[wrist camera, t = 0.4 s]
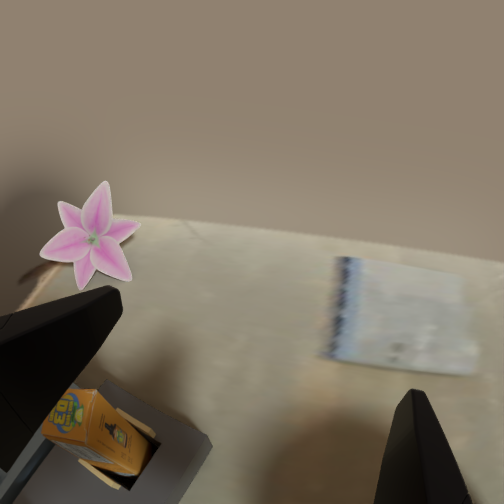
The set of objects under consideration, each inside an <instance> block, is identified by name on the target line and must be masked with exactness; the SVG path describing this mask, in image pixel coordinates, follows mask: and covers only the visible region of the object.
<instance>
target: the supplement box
mask: <svg viewBox="0 0 504 504" xmlns="http://www.w3.org/2000/svg"><path fill="white" fill-rule="evenodd" d="M41 434H42V435H43V436H44V437H46V438H47V439H49V440H50V441H52V442H53V443H55V444H56V445H58V446H60V447H61V448H63V449H65V450H66V451H68V452H70V453H71V454H73V455H75V456H76V457H78V458H80V459H82V460H83V461H85V462H87V463H89V464H91V465H93V466H95V467H97V468H99V469H101V470H103V471H105V472H107V473H109V474H111V475H113V476H117V477H123V478H129V479H136V480H137V479H138V478H139V476H140V475H141V474H142V472H143V471H144V469H145V468H146V466H147V465H148V463H149V462H150V460H151V455H152V444H151V443H150V442H149V441H147V440H146V439H145V438H144V437H143V436H142V435H141V434H140V433H139V432H138V431H137V430H135V429H134V428H133V427H132V426H131V425H130V424H129V423H128V422H127V421H126V420H125V419H124V418H123V417H122V416H121V415H120V414H119V413H118V412H117V411H116V410H115V409H114V408H113V407H112V406H111V405H110V404H109V403H108V402H107V401H106V400H105V399H104V397H103V396H102V395H101V394H100V393H99V392H98V391H97V390H96V389H68V390H67V391H66V392H65V394H64V395H63V396H62V398H61V399H60V400H59V402H58V403H57V404H56V406H55V407H54V408H53V410H52V411H51V412H50V414H49V415H48V416H47V418H46V419H45V420H44V422H43V426H42V430H41Z"/></svg>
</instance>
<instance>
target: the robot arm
mask: <svg viewBox="0 0 504 504" xmlns="http://www.w3.org/2000/svg"><path fill="white" fill-rule="evenodd" d="M122 312H123V306H122V301H121V295H120V291H119V290H118V289H117V288H114V287H112V286H110V285H107V286H103V287H100V288H96V289H93V290H89V291H86V292H82V293H79V294H75V295H72V296H69V297H65V298H62V299H58V300H55V301H52V302H48V303H45V304H41V305H38V306H35V307H31V308H28V309H24V310H21V311H18V312H14V313H11V314H8V315H4V316H1V317H0V468H1V469H2V470H3V471H4V472H6V473H8V471H9V470H10V469H11V467H12V466H13V464H14V463H15V462H16V460H17V459H18V457H19V456H20V454H21V453H22V451H23V450H24V449H25V447H26V446H27V444H28V443H29V441H30V440H31V439H32V437H33V436H34V434H35V433H36V431H37V430H38V429H39V427H40V426H41V424H42V423H43V422H44V420H45V419H46V418H47V416H48V415H49V414H50V412H51V411H52V410H53V408H54V407H55V406H56V404H57V403H58V402H59V400H60V399H61V398H62V396H63V395H64V394H65V392H66V391H67V390H68V388H69V387H70V386H71V384H72V383H73V382H74V381H75V379H76V378H77V377H78V375H79V374H80V373H81V372H82V370H83V369H84V368H85V367H86V365H87V364H88V363H89V362H90V360H91V359H92V358H93V357H94V355H95V354H96V353H97V351H98V350H99V349H100V347H101V346H102V344H103V343H104V341H105V340H106V338H107V337H108V335H109V333H110V332H111V330H112V329H113V327H114V326H115V324H116V323H117V321H118V320H119V318H120V317H121V315H122ZM374 504H473V503H472V500H471V498H470V495H469V494H468V490H467V487H466V485H465V482H464V479H463V477H462V474H461V472H460V469H459V467H458V464H457V462H456V460H455V457H454V455H453V453H452V450H451V448H450V446H449V443H448V441H447V439H446V436H445V434H444V432H443V430H442V428H441V425H440V423H439V421H438V419H437V417H436V415H435V412H434V410H433V408H432V406H431V404H430V402H429V400H428V398H427V396H426V394H425V392H424V391H422V390H417V389H410V390H409V391H408V392H407V393H406V395H405V396H404V397H403V399H402V400H401V401H400V403H399V404H398V406H397V407H396V410H395V413H394V417H393V422H392V426H391V430H390V434H389V437H388V441H387V445H386V448H385V452H384V456H383V460H382V465H381V470H380V475H379V480H378V485H377V490H376V495H375V499H374Z"/></svg>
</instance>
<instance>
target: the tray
mask: <svg viewBox="0 0 504 504" xmlns="http://www.w3.org/2000/svg"><path fill="white" fill-rule="evenodd" d="M68 389H81V388H80V387H78V386H77V385H76V384H75V383H72V384H71V386H70V387H69V388H68ZM42 426H43V423H42V424H41V426H40V427H39V429H38V430H37V431H36V433H35V434H34V436H33V437H32V439H31V440H30V441H29V443H28V444H27V446H26V447H25V449H24V450H23V451H22V453H21V454H20V456H19V457H18V459H17V460H16V462H15V463H14V464H13V466H12V467H11V469H10V470H9V471H8V473H6V472H4V471H3V470H2V469H1V468H0V503H1V504H12V503H13V502H14V501H15V499H16V498H17V496H18V495H19V494H20V492H21V491H22V489H23V488H24V487H25V485H26V484H27V482H28V481H29V480H30V478H31V477H32V476H33V474H34V473H35V471H36V470H37V469H38V467H39V466H40V465H41V463H42V462H43V461H44V459H45V458H46V457H47V455H48V454H49V453H50V451H51V450H52V449H53V447H54V446H55V445H56V444H55V443H53V442H52V441H50V440H49V439H47V438H46V437H44V436H43V435H42V434H41V430H42Z"/></svg>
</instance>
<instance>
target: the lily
mask: <svg viewBox="0 0 504 504" xmlns="http://www.w3.org/2000/svg"><path fill="white" fill-rule="evenodd" d="M58 210H59V214H60V217H61V220H62V222H63V225H64V227H65V229H64V230H62V231H60V232H59V233H58V234H57V235H55V236H54V237H53V238H52V239H51V240H50V241H49V242H48V243H47V244H46V245H45V246H44V247H43V248H42V250H41V251H40V256H41V257H43V258H45V259H49V260H53V261H60V262H74V273H75V278H76V283H77V286H78V289H79V290H83V288H84V287H85V286H86V285H87V283H88V282H89V280H90V279H91V277H92V276H93V274H94V272H95V271H96V269H97V270H99V271H100V272H102V273H104V274H107V275H109V276H111V277H114V278H116V279H119V280H122V281H127V282H128V281H131V280H132V275H131V271H130V268H129V266H128V263H127V261H126V258H125V256H124V253H123V251H122V249H121V247H120V245H119V243H121V242H122V241H124V240H125V239H127V238H128V237H129V236H130V235H132V234H133V233H134V232H135V231H136V230H137V229H138V228H139V227H140V225H141V224H140V223H139V222H136V221H132V220H126V219H113V216H112V202H111V193H110V186H109V183H108V182H107V181H103V182H102V183H101V184H100V185H99V186H98V187H97V188H96V190H94V192H93V193H92V194H91V196H90V197H89V198H88V200H87V201H86V203H85V204H84V206H83V208H82V210H81V209H79V208H77V207H75V206H73V205H71V204H68V203H65V202H62V201H59V202H58Z"/></svg>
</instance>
